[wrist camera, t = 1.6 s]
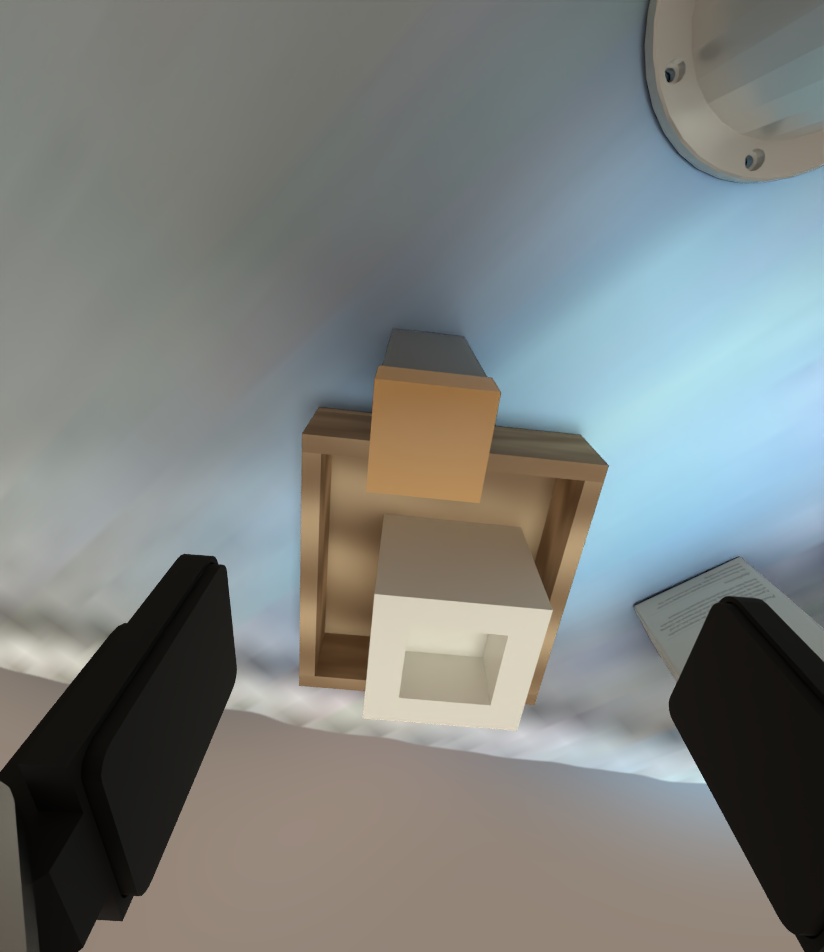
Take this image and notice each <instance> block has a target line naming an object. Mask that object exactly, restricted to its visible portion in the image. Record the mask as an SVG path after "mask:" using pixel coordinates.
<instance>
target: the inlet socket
mask: <svg viewBox="0 0 824 952" xmlns="http://www.w3.org/2000/svg"><path fill="white" fill-rule="evenodd" d="M552 612H553V609H552V607H551V604H550V601H549V599H548V596H547V594H546V591H545V588H544V586H543V583H542V581H541V578H540V575H539V573H538V570H537V568H536V565H535V562H534V560H533V557H532V555H531V552H530V549H529V547H528V544H527V542H526V539H525V536H524V534H523V531H522V529H521V527H514V526H503V525H493V524H483V523H473V522H462V521H452V520H442V519H432V518H422V517H411V516H401V515H391V514H384V518H383V527H382V535H381V544H380V552H379V560H378V569H377V577H376V585H375V594H374V604H373V615H372V626H371V636H370V647H369V657H368V668H367V679H366V689H365V700H364V710H363V718H364V719H377V720H389V721H402V722H414V723H427V724H439V725H452V726H464V727H477V728H489V729H502V730H514V731H517V729H518V725H519V722H520V719H521V715H522V712H523V709H524V705H525V702H526V698H527V695H528V692H529V688H530V685H531V682H532V678H533V675H534V672H535V668H536V665H537V662H538V658H539V655H540V652H541V648H542V645H543V642H544V638H545V635H546V632H547V628H548V625H549V622H550V618H551V615H552Z"/></svg>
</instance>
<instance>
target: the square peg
mask: <svg viewBox="0 0 824 952" xmlns="http://www.w3.org/2000/svg"><path fill="white" fill-rule="evenodd" d="M500 395H501V391H500V390H499V388H498V386H497V385H496V383H495V382H494V380H493V378H489V377H487V376H486V374H485V372H484V370H483V369H482V367H481V365H480V363H479V362H478V360H477V358H476V356H475V355H474V353H473V351H472V350H471V348H470V346H469V344H468V343H467V341H466V339H465V337H463V336H454V335H446V334H437V333H428V332H419V331H410V330H402V329H393V330H392V334H391V337H390V341H389V344H388V347H387V351H386V354H385V358H384V361H383V365H382V366H380V365H379V367H378V370H377V373H376V376H375V381H374V394H373V407H372V421H371V434H370V447H369V460H368V473H367V486H366V492H372V493H382V494H392V495H402V496H412V497H422V498H432V499H442V500H452V501H462V502H472V503H480V499H481V494H482V489H483V484H484V478H485V473H486V468H487V463H488V458H489V452H490V447H491V442H492V437H493V432H494V427H495V421H496V416H497V411H498V406H499V401H500Z"/></svg>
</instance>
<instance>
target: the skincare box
mask: <svg viewBox="0 0 824 952" xmlns="http://www.w3.org/2000/svg"><path fill="white" fill-rule="evenodd" d="M725 596H737V597H750V598H758V599H761V600H763V601H764V602H766V603H767V604H768V605H769V606H770V607H771V608H772V609H773V610H774V611H775V612H776V613H777V614H778V615H779V616H780V617H781V618H782V620H783V621H784V622H785V623H786V624H787V625H788V626H789V627H790V628H791V629H792V630H793V631H794V632H795V633H796V634H797V635H798V636H799V637H800V638H801V639H802V640H803V641H804V642H805V643H806V644H807V645H808V646H809V647H810V648H811V649H812V650H813V651H814V652H815V653H816V654H817V655H818V656H819V657H820V658H821V659H822V660H823V661H824V629H823V628H822V627H821V626H820V625H819V624H818V623H817V622H815V621H814V620H813V619H812V618H811V617H810V616H809V615H807V614H806V613H805V612H804V611H803V610H802V609H800V608H799V607H798V606H797V605H796V604H795V603H794V602H792V601H791V600H790V599H789V598H788V597H787V596H786V595H784V594H783V593H782V592H781V591H780V590H779V589H777V588H776V587H775V586H774V585H773V584H772V583H770V582H769V581H768V580H767V579H766V578H765V577H764V576H762V575H761V574H760V573H759V572H758V571H756V570H755V569H754V568H753V567H752V566H751V565H749V564H748V563H747V562H746V561H745V560H744V559H742V558H741V557H738V558H736V559H733V560H731V561H729V562H727V563H725V564H723V565H721V566H719V567H716V568H714V569H712V570H710V571H708V572H706V573H704V574H702V575H699V576H697V577H695V578H693V579H691V580H689V581H687V582H684V583H682V584H680V585H678V586H676V587H674V588H672V589H669V590H667V591H665V592H663V593H661V594H659V595H656V596H654V597H652V598H650V599H648V600H646V601H644V602H641V603H639V604H637V605H635V608H634V609H635V611H636V613H637V615H638V617H639V619H640V621H641V623H642V625H643V626H644V628H645V630H646V632H647V634H648V636H649V637H650V639H651V641H652V643H653V645H654V646H655V648H656V650H657V651H658V653H659V655H660V656H661V658H662V659H663V661H664V663H665V664H666V666H667V667H668V669H669V671H670V672H671V674H672V675H673V677H674V678H675V680H676V682H677V681H678V679H679V677H680V675H681V672H682V670H683V668H684V666H685V664H686V661H687V659H688V657H689V655H690V653H691V651H692V648H693V646H694V644H695V642H696V640H697V637H698V635H699V633H700V631H701V629H702V626H703V624H704V622H705V620H706V618H707V615H708V613H709V611H710V609H711V607H712V606H713V605H714V604H715V603H719V601H720V600H721V599H722V598H723V597H725Z"/></svg>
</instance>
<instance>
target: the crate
mask: <svg viewBox="0 0 824 952" xmlns="http://www.w3.org/2000/svg"><path fill="white" fill-rule="evenodd" d="M371 421H372V413H368V412H358V411H349V410H340V409H330V408H321V407H319V408H318V409H317V411H316V412H315V414H314V416H313V417H312V419H311V420H310V422H309V424H308V425H307V427H306V428H305V430H304V432H303V433H302V486H301V575H300V663H299V686H310V687H322V688H334V689H346V690H358V691H365V689H366V679H367V668H368V657H369V647H370V636H371V626H372V615H373V604H374V594H375V585H376V577H377V569H378V560H379V552H380V544H381V535H382V527H383V518H384V514H391V515H401V516H411V517H422V518H432V519H442V520H452V521H462V522H473V523H483V524H493V525H503V526H514V527H521V529H522V531H523V534H524V536H525V539H526V542H527V544H528V547H529V549H530V552H531V555H532V557H533V560H534V562H535V565H536V568H537V570H538V573H539V575H540V578H541V581H542V583H543V586H544V588H545V591H546V594H547V596H548V599H549V601H550V604H551V607H552V609H553V612H552V615H551V618H550V622H549V625H548V628H547V632H546V635H545V638H544V642H543V645H542V648H541V652H540V655H539V658H538V662H537V665H536V668H535V672H534V675H533V678H532V682H531V685H530V688H529V692H528V695H527V698H526V702H525V704H528V705H534V704H535V701H536V698H537V695H538V691H539V688H540V685H541V682H542V678H543V675H544V672H545V669H546V666H547V662H548V659H549V656H550V653H551V650H552V646H553V643H554V640H555V637H556V634H557V630H558V627H559V624H560V621H561V617H562V614H563V611H564V608H565V605H566V601H567V598H568V595H569V592H570V589H571V585H572V582H573V579H574V576H575V573H576V569H577V566H578V563H579V560H580V556H581V553H582V550H583V547H584V544H585V540H586V537H587V534H588V531H589V528H590V524H591V521H592V518H593V515H594V512H595V508H596V505H597V502H598V499H599V495H600V492H601V489H602V486H603V483H604V479H605V476H606V473H607V470H608V467H609V465H608V464H607V463H606V462H605V461H604V460H603V459H602V458H601V457H600V455H599V454H598V453H597V452H596V451H595V450H594V449H593V448H592V447H591V446H590V444H589V443H588V442H587V441H586V440H585V439H584V438H583V437H582V436H581V435H575V434H566V433H556V432H547V431H537V430H528V429H518V428H509V427H500V426H495V427H494V432H493V437H492V442H491V447H490V452H489V458H488V463H487V468H486V473H485V478H484V484H483V489H482V494H481V499H480V503H472V502H462V501H452V500H442V499H432V498H422V497H412V496H402V495H392V494H382V493H372V492H366V486H367V473H368V460H369V447H370V434H371Z"/></svg>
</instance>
